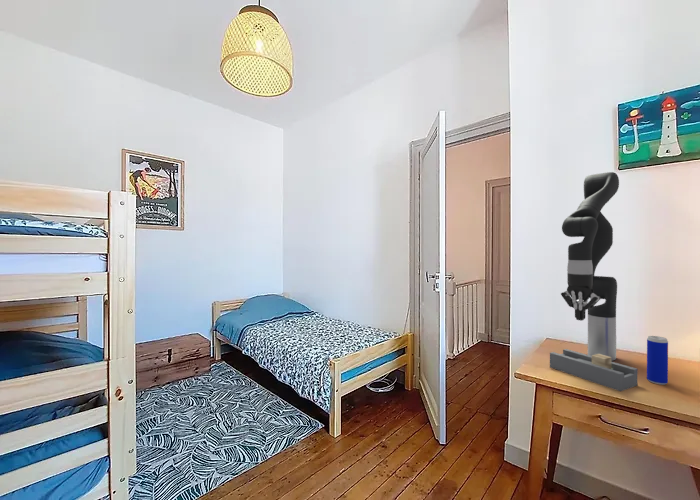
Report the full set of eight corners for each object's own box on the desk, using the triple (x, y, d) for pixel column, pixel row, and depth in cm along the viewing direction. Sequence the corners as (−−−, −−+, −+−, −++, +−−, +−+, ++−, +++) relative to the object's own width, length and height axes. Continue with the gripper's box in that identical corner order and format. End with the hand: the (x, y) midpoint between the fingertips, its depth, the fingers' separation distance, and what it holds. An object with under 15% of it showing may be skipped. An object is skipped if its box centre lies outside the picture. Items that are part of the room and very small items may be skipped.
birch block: (598, 365, 116) (598, 353, 116) (611, 368, 112) (611, 357, 112) (591, 366, 114) (591, 355, 114) (604, 370, 110) (604, 359, 110)
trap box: (566, 362, 129) (566, 348, 129) (637, 385, 108) (637, 368, 108) (549, 367, 125) (549, 352, 125) (620, 391, 104) (620, 374, 104)
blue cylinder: (671, 385, 107) (672, 340, 107) (653, 384, 108) (653, 339, 108) (660, 379, 112) (660, 335, 112) (643, 378, 114) (643, 335, 113)
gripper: (606, 273, 114) (606, 322, 115) (567, 270, 126) (567, 315, 127) (593, 274, 111) (593, 325, 112) (555, 271, 123) (555, 317, 124)
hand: (580, 319), depth 119 cm, fingers closed
